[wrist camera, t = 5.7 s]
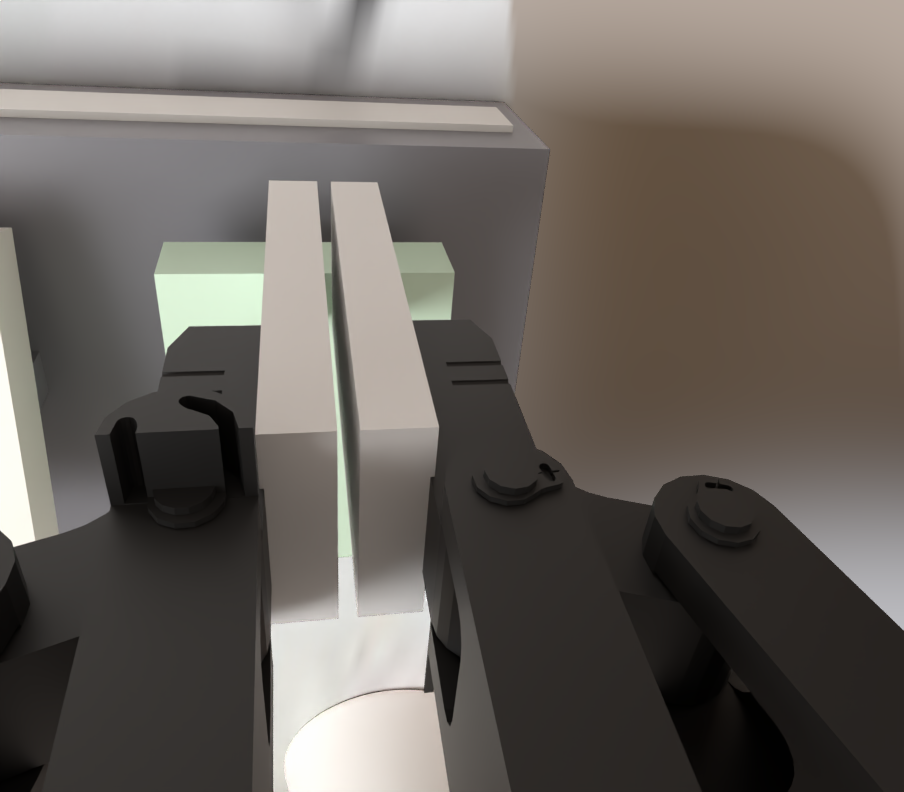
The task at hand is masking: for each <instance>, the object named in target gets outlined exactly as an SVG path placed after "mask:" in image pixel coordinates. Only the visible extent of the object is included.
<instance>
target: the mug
mask: <svg viewBox="0 0 904 792" xmlns="http://www.w3.org/2000/svg"><path fill="white" fill-rule="evenodd" d="M284 774H285V779H286V782H287V785H288V790H289V792H449V786H448V779H447V773H446V766H445V760H444V753H443V747H442V740H441V734H440V727H439V720H438V714H437V707H436V701H435V694H434V692H430V693H424V691H421V690H391V691H382V692H376V693H371V694H367V695H363V696H359V697H356V698H353V699H350V700H347V701H345V702H342V703H340V704H338V705H335V706H333V707H331V708H329V709H327V710H326V711H324V712H322V713H321V714H319V715H318V716H316V717H315V718H313V719H312V720H311V721H309V722H308V723H307V724H306V725H305V726H304V727H303V728H302V729H301V730H300V731H299V732H298V733H297V734H296V736H295V737H294V738H293V740H292V741H291V743H290V745H289V747H288V749H287V752H286V755H285V760H284Z"/></svg>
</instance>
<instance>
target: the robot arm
mask: <svg viewBox="0 0 904 792" xmlns="http://www.w3.org/2000/svg"><path fill="white" fill-rule="evenodd" d="M331 269H332V332H333V343H334V355H335V366H336V377H337V389H338V400H339V411H340V423H341V434H342V445H343V457H344V468H345V480H346V491H347V502H348V514H349V525H350V536H351V548H352V559H353V570H354V582H355V593H356V604H357V616H358V617H362V616H374V615H386V614H398V613H410V612H422V611H423V602H424V591H425V590H426V595H427V601H428V606H429V612H430V617H431V623H430V633H429V643H428V653H427V663H426V673H425V685H424V693H430V692H434V694H435V701H436V707H437V714H438V720H439V727H440V734H441V740H442V747H443V753H444V760H445V766H446V773H447V779H448V786H449V792H904V630H902V629H901V628H900V627H899V626H898V625H897V624H896V623H895V622H894V621H893V620H892V619H891V618H890V617H889V616H888V615H887V614H886V613H885V612H884V611H883V610H882V609H881V608H880V607H879V606H878V605H876V604H875V603H874V602H873V601H872V600H871V599H870V598H869V597H868V596H867V595H866V594H865V593H864V592H863V591H862V590H861V589H860V588H859V587H858V586H857V585H856V584H855V583H854V582H853V581H852V580H851V579H849V577H847V576H846V575H845V574H844V573H843V572H842V571H841V570H840V569H839V568H838V567H837V566H836V565H835V564H834V563H833V562H832V561H831V560H830V559H829V558H828V557H827V556H826V555H825V554H824V553H823V552H822V551H820V550H819V549H818V548H817V547H816V546H815V545H814V544H813V543H812V542H811V541H810V540H809V539H808V538H807V537H806V536H805V535H804V534H803V533H802V532H801V531H800V530H799V529H798V528H797V527H796V526H795V525H793V524H792V523H791V522H790V521H789V520H788V519H787V518H786V517H785V516H784V515H783V514H782V513H781V512H780V511H779V510H778V509H777V508H776V507H775V506H774V505H772V504H771V503H770V502H768V501H767V500H766V499H764V498H763V497H761V496H760V495H759V494H758V493H756V492H755V491H753V490H751V489H749V488H747V487H744V486H742V485H740V484H738V483H735V482H733V481H731V480H728V479H723V478H717V477H712V476H706V475H698V476H684V477H679V478H677V479H675V480H673V481H671V482H668V483H666V484H664V485H663V486H662V488H661V489H660V491H659V492H658V494H657V495H656V497H655V498H654V501H653V505H652V506H651V505H646V504H640V503H635V502H629V501H623V500H618V499H613V498H607V497H603V496H600V495H595V494H592V493H588V492H586V491H584V490H581V489H579V488H577V487H575V485H574V483H573V480H572V479H571V477H570V476H569V474H568V473H567V471H566V470H565V469H564V467H563V466H562V465H561V463H559V462H557V461H556V460H555V459H553V458H552V457H550V456H549V455H548V454H546V453H545V452H543V451H541V450H538V449H536V447H535V445H534V442H533V439H532V437H531V434H530V432H529V429H528V428H527V424H526V422H525V419H524V417H523V414H522V412H521V409H520V407H519V404H518V402H517V399H516V397H515V394H514V392H513V389H512V387H511V384H508V377H507V374H506V372H505V369H504V367H503V365H501V359H500V357H499V354H498V352H497V349H496V347H495V344H494V342H493V339H492V338H491V337H490V336H489V335H487V334H486V333H485V332H484V331H483V330H482V329H480V328H479V327H478V326H477V325H476V324H475V323H474V322H472V321H471V320H470V319H468V320H412V318H411V314H410V310H409V306H408V302H407V298H406V294H405V290H404V286H403V282H402V278H401V274H400V270H399V266H398V262H397V258H396V254H395V250H394V246H393V242H392V238H391V234H390V230H389V226H388V223H387V219H386V215H385V211H384V207H383V203H382V199H381V195H380V191H379V187H378V183H377V182H331ZM94 436H95V440H96V445H97V449H98V453H99V458H100V462H101V466H102V470H103V475H104V479H105V483H106V488H107V492H108V496H109V500H110V505H111V507H110V511H109V512H107V513H106V514H104V515H103V516H101V517H99V518H97V519H95V520H93V521H92V522H90V523H88V524H86V525H84V526H81V527H78V528H75V529H73V530H70V531H67V532H64V533H61V534H58V535H54V536H51V537H47V538H44V539H40V540H36V541H33V542H29V543H26V544H22V545H19V546H15V547H13V544H12V541H11V540H10V539H9V538H8V537H7V536H6V535H5V534H4V533H2V532H1V531H0V792H273V661H272V649H271V624H279V623H291V622H303V621H315V620H327V619H338V458H337V421H336V408H335V396H334V384H333V372H332V359H331V347H330V335H329V323H328V310H327V298H326V286H325V273H324V261H323V249H322V237H321V224H320V212H319V200H318V188H317V181H274V180H269V189H268V207H267V225H266V244H265V262H264V280H263V298H262V316H261V325H245V326H189V327H188V328H187V329H186V330H185V331H184V332H183V333H182V334H181V335H180V336H179V337H178V338H177V339H176V340H175V341H174V342H173V343H172V344H171V345H170V346H169V347H168V348H167V353H166V357H165V361H164V365H163V370H162V377H161V378H160V383H159V387H158V391H157V392H152V393H150V394H147V395H144V396H141V397H139V398H136V399H133V400H131V401H128V402H126V403H124V404H123V405H122V406H120V407H119V408H117V409H116V410H115V411H113V412H112V413H110V414H109V415H108V416H106V417H105V419H104V420H103V422H102V423H101V425H100V427H99V428H98V430H97V431H96V433H95V435H94Z"/></svg>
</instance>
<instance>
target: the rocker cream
mask: <svg viewBox="0 0 904 792" xmlns="http://www.w3.org/2000/svg"><path fill="white" fill-rule="evenodd" d="M0 531H1V532H2V533H4V534H5V535H6V536H7V537H8V538H9V539H10V540H11V541H12V544H13V547H15V546H19V545H22V544H26V543H29V542H33V541H36V540H40V539H44V538H47V537H51V536H54V535H58V534H59V531H58V524H57V518H56V511H55V505H54V498H53V492H52V485H51V479H50V472H49V466H48V459H47V453H46V446H45V440H44V434H43V427H42V421H41V414H40V408H39V401H38V395H37V388H36V382H35V375H34V369H33V362H32V356H31V349H30V343H29V336H28V330H27V323H26V317H25V310H24V304H23V297H22V291H21V284H20V278H19V272H18V265H17V259H16V252H15V246H14V239H13V233H12V228H0Z"/></svg>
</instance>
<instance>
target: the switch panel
mask: <svg viewBox="0 0 904 792" xmlns="http://www.w3.org/2000/svg"><path fill="white" fill-rule="evenodd" d="M549 153H550V149H549V148H548V147H547V146H546V145H545V143H544V142H543V141H542V140H540V138H539V137H538V136H537V135H536V134H535V133H534V132H533V131H532V130H531V129H530V128H529V127H528V126H527V125H526V124H525V123H524V122H523V121H522V120H521V119H520V118H519V117H518V116H517V115H516V114H515V113H514V112H513V111H512V110H511V109H510V108H509V107H508V106H507V105H506V104H505V103H504V102H488V101H461V100H435V99H409V98H383V97H357V96H331V95H304V94H278V93H252V92H226V91H200V90H173V89H147V88H121V87H95V86H69V85H43V84H16V83H0V228H12V233H13V239H14V246H15V252H16V259H17V265H18V272H19V278H20V284H21V291H22V297H23V304H24V310H25V317H26V323H27V330H28V336H29V343H30V349H31V356H32V362H33V369H34V375H35V382H36V388H37V395H38V401H39V408H40V414H41V421H42V427H43V434H44V440H45V446H46V453H47V459H48V466H49V472H50V479H51V485H52V492H53V498H54V505H55V511H56V518H57V524H58V531H59V534H61V533H64V532H67V531H70V530H73V529H75V528H78V527H81V526H84V525H86V524H88V523H90V522H92V521H93V520H95V519H97V518H99V517H101V516H103V515H104V514H106V513H107V512H109V511H110V507H111V505H110V500H109V496H108V492H107V488H106V483H105V479H104V475H103V470H102V466H101V462H100V458H99V453H98V449H97V445H96V440H95V436H94V435H95V433H96V431H97V430H98V428H99V427H100V425H101V423H102V422H103V420H104V419H105V417H106V416H108V415H109V414H110V413H112V412H113V411H115V410H116V409H117V408H119V407H120V406H122V405H123V404H124V403H126V402H128V401H131V400H133V399H136V398H139V397H141V396H144V395H147V394H150V393H152V392H157V391H158V387H159V383H160V378H161V377H162V370H163V365H164V361H165V357H166V355H165V348H164V341H163V334H162V327H161V320H160V313H159V306H158V299H157V292H156V285H155V278H154V273H155V269H156V266H157V263H158V259H159V256H160V253H161V249H162V246H163V243H164V242H266V225H267V207H268V189H269V180H274V181H317V188H318V200H319V212H320V224H321V237H322V242H331V182H377V183H378V187H379V191H380V195H381V199H382V203H383V207H384V211H385V215H386V219H387V223H388V226H389V230H390V234H391V238H392V242H442V244H443V247H444V249H445V251H446V254H447V256H448V258H449V260H450V263H451V265H452V267H453V270H454V272H455V276H454V287H453V299H452V310H451V320H468V319H470V320H471V321H472V322H474V323H475V324H476V325H477V326H478V327H479V328H480V329H482V330H483V331H484V332H485V333H486V334H487V335H489V336H490V337H491V338H492V339H493V342H494V344H495V347H496V349H497V352H498V354H499V357H500V359H501V365H503V367H504V369H505V372H506V374H507V377H508V384H511V387H512V389H513V392H514V394H515V388H516V381H517V374H518V367H519V360H520V354H521V346H522V340H523V333H524V326H525V319H526V312H527V305H528V298H529V291H530V285H531V277H532V270H533V264H534V257H535V250H536V243H537V236H538V230H539V223H540V216H541V208H542V202H543V195H544V188H545V180H546V174H547V167H548V161H549Z"/></svg>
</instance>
